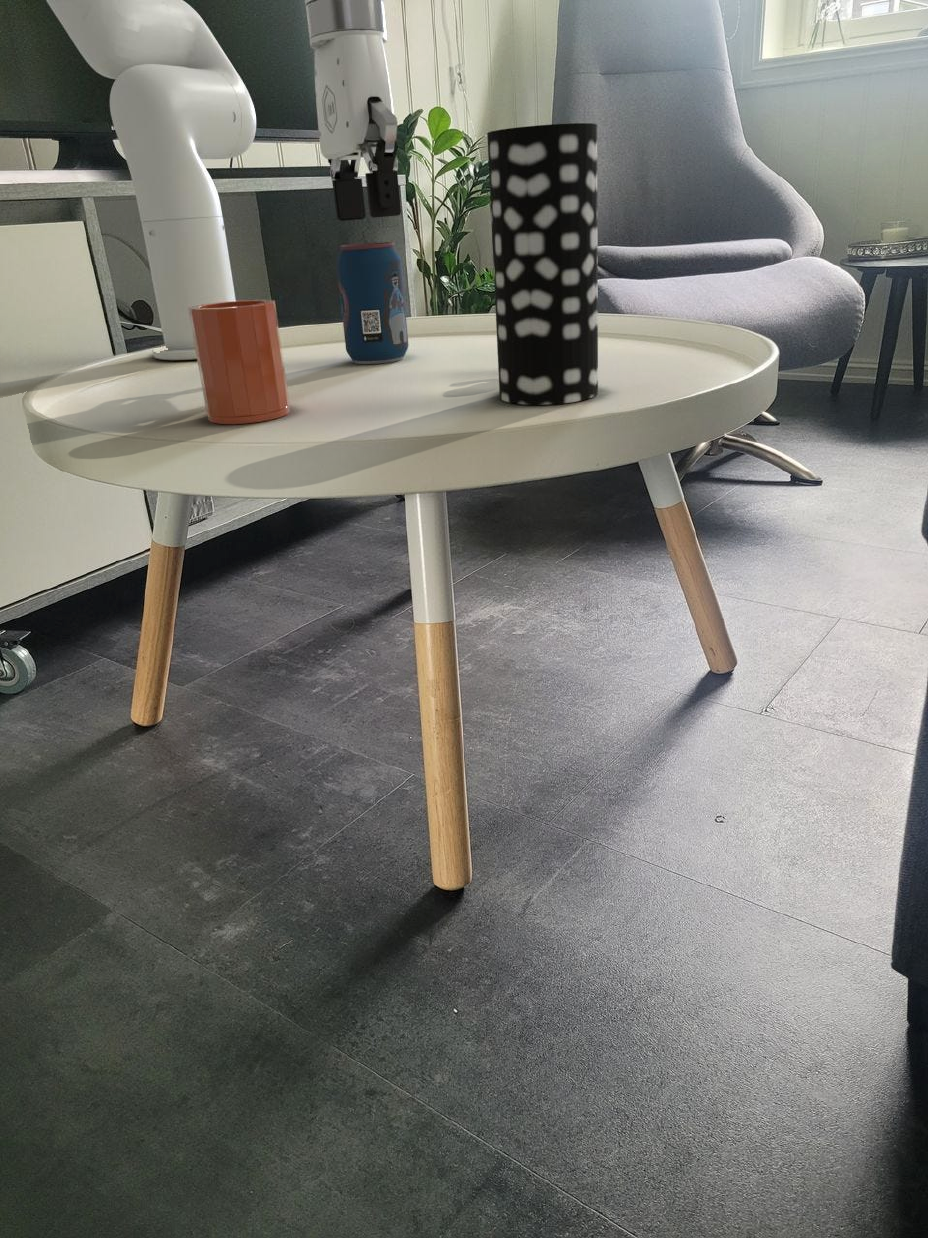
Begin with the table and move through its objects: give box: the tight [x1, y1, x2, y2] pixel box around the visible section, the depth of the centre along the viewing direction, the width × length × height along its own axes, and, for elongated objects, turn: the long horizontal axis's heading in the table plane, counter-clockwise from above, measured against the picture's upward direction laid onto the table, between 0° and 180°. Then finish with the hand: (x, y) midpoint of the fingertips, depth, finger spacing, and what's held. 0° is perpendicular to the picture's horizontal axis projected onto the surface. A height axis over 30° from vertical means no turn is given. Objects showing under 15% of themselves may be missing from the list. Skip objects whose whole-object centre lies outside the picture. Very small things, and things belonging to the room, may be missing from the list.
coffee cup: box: [188, 299, 290, 425], centre depth 76 cm, size 7×7×9 cm
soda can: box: [336, 241, 409, 365], centre depth 100 cm, size 7×7×12 cm
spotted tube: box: [486, 122, 599, 406], centre depth 74 cm, size 8×8×20 cm
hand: (368, 218), depth 96 cm, fingers open, 9 cm apart
